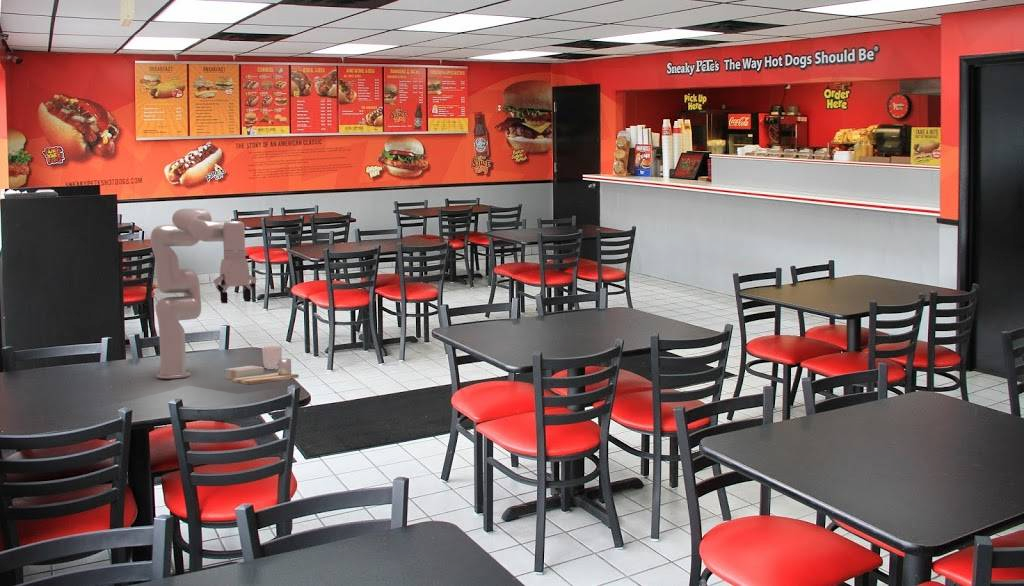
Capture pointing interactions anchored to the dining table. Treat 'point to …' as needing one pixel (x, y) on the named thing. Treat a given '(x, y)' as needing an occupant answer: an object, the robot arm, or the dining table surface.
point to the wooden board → (263, 378)
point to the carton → (243, 372)
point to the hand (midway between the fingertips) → (236, 302)
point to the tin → (284, 367)
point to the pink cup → (271, 356)
